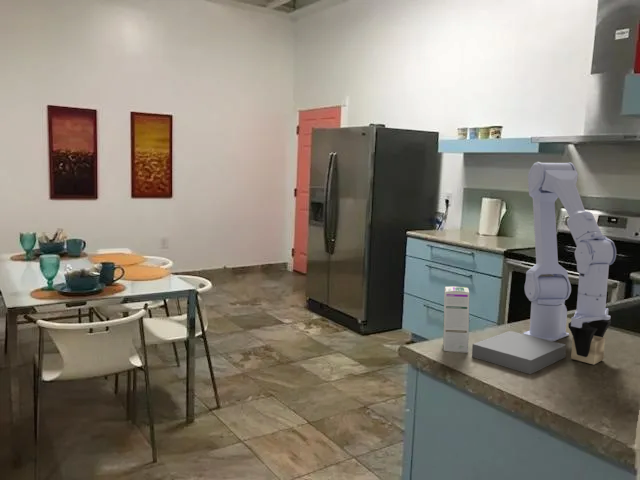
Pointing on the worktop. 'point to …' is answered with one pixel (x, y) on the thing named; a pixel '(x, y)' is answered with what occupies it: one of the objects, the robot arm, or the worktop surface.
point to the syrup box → (456, 319)
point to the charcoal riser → (519, 351)
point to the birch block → (591, 351)
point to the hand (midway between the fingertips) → (587, 352)
